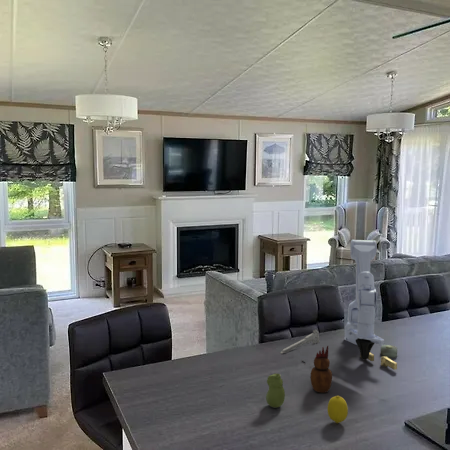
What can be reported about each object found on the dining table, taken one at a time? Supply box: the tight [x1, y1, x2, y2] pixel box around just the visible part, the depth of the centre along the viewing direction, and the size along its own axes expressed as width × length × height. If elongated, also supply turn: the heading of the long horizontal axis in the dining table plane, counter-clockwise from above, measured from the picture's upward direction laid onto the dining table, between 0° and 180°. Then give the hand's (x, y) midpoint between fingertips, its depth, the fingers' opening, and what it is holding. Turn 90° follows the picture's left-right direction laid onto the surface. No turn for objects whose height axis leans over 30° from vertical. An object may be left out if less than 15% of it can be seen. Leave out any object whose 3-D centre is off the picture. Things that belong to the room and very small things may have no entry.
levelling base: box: [380, 344, 398, 359], centre depth 167 cm, size 14×20×5 cm
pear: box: [265, 373, 286, 409], centre depth 134 cm, size 6×5×10 cm
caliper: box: [279, 329, 320, 355], centre depth 180 cm, size 21×1×6 cm, turn 124°
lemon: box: [327, 395, 349, 424], centre depth 125 cm, size 6×6×8 cm
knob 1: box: [359, 352, 375, 362], centre depth 165 cm, size 2×7×3 cm, turn 14°
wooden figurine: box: [310, 345, 333, 394], centre depth 143 cm, size 7×6×15 cm
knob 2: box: [380, 355, 398, 371], centre depth 158 cm, size 2×7×3 cm, turn 17°
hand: (364, 358), depth 162 cm, fingers closed
